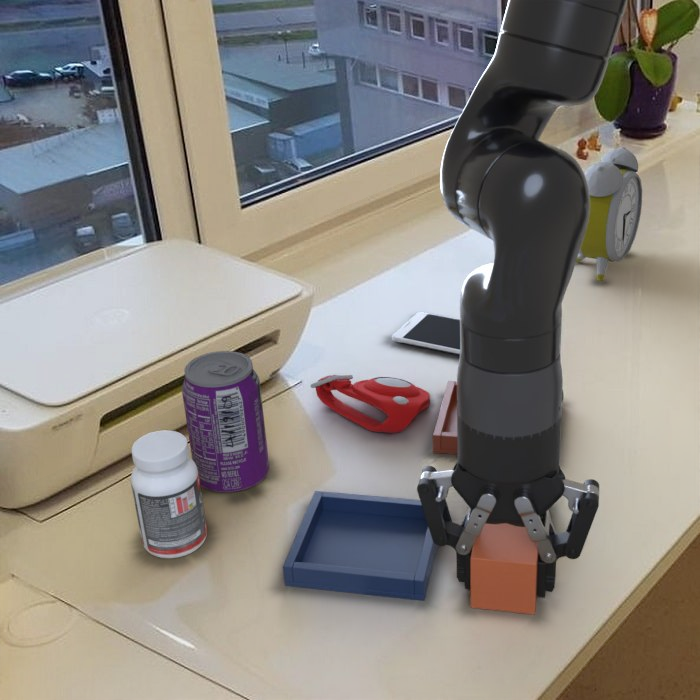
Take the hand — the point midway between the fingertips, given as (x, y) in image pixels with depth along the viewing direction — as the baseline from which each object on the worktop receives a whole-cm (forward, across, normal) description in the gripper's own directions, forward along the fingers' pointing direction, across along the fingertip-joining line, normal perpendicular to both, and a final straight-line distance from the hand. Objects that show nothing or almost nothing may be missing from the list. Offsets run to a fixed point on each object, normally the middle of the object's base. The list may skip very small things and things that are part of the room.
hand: (506, 586), depth 85 cm
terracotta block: (0, 0, 0) cm, 0 cm away
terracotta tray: (0, -3, +24) cm, 24 cm away
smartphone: (0, -9, +42) cm, 43 cm away
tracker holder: (+1, -16, +26) cm, 31 cm away
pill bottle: (+1, -29, +2) cm, 29 cm away
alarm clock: (+1, +6, +65) cm, 65 cm away
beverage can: (+1, -27, +12) cm, 30 cm away
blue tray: (0, -12, +3) cm, 12 cm away
